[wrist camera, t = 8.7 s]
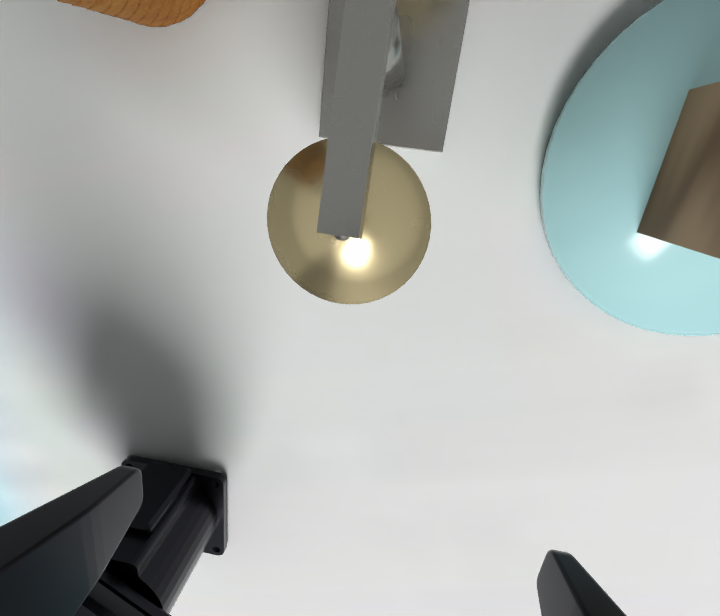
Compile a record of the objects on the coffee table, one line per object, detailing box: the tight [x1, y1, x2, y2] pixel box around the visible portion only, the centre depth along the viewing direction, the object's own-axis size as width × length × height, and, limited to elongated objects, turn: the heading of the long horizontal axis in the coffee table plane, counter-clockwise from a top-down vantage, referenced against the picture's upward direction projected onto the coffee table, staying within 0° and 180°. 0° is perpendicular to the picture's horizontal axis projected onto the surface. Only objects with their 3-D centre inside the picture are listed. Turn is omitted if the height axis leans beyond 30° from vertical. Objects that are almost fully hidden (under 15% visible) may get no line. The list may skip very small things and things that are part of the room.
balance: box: [267, 0, 469, 304], centre depth 12 cm, size 14×5×9 cm, turn 173°
